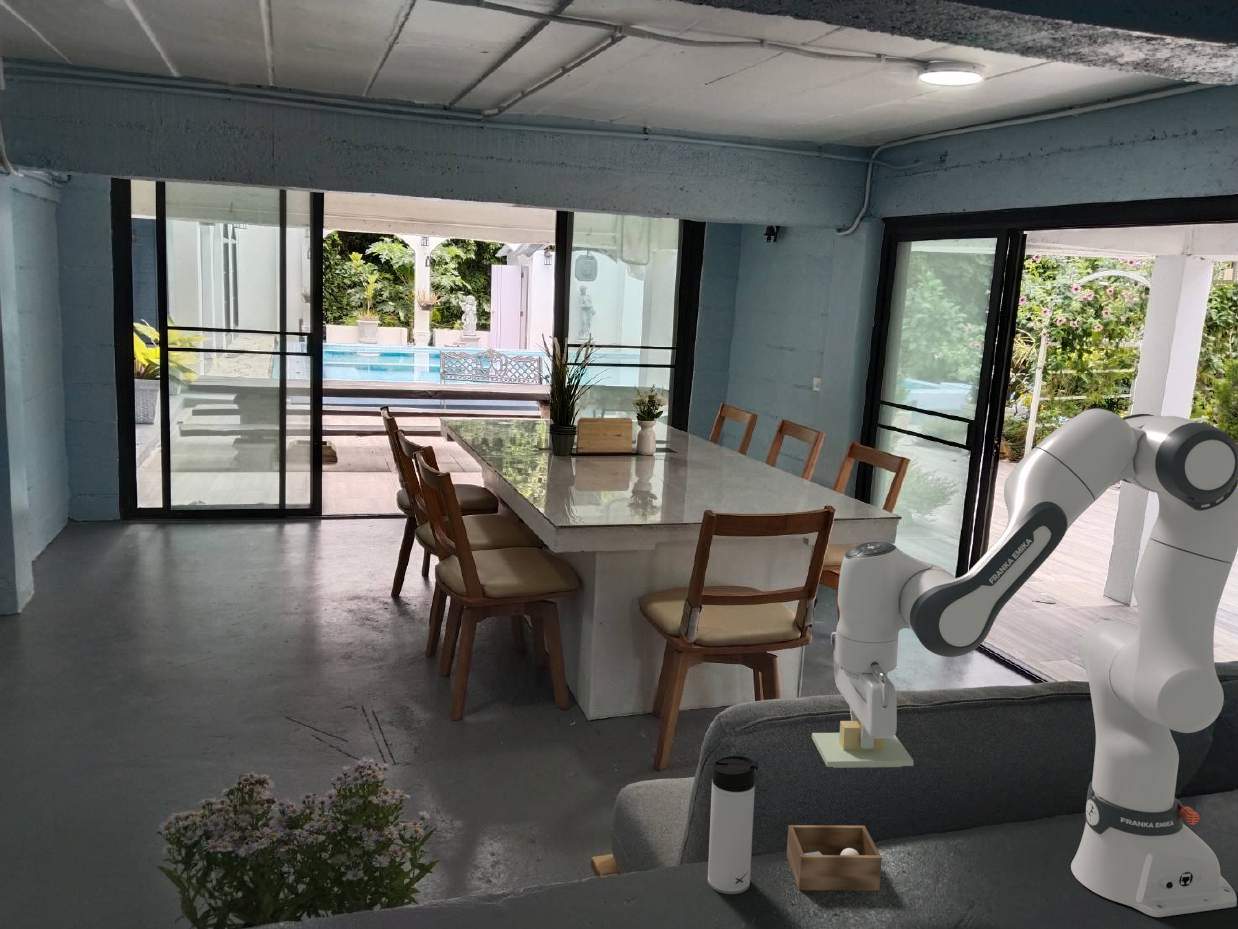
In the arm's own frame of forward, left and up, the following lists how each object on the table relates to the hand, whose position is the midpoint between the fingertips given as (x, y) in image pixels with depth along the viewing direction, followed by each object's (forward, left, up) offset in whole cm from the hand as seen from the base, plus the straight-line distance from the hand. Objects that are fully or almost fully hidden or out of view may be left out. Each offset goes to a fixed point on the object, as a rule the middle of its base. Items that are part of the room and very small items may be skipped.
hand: (862, 740), depth 145 cm
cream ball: (0, -1, -21) cm, 21 cm away
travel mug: (+19, +2, -22) cm, 30 cm away
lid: (0, 0, -2) cm, 2 cm away
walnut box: (+3, 0, -22) cm, 22 cm away
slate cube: (+6, +1, -21) cm, 22 cm away
